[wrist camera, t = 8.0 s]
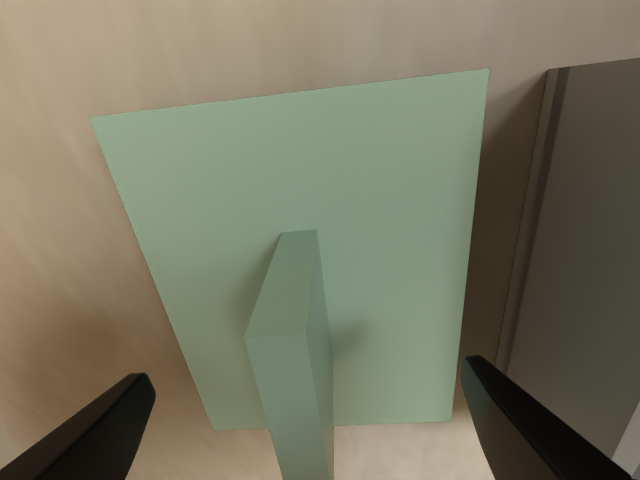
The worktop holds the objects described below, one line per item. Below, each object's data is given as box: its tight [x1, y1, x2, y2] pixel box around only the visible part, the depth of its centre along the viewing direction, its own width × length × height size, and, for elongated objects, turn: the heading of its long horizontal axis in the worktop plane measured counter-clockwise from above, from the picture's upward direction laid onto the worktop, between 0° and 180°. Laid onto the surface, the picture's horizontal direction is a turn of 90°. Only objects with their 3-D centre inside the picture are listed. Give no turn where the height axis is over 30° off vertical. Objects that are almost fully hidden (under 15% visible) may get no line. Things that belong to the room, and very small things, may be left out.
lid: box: [89, 68, 489, 480], centre depth 10 cm, size 11×14×7 cm
